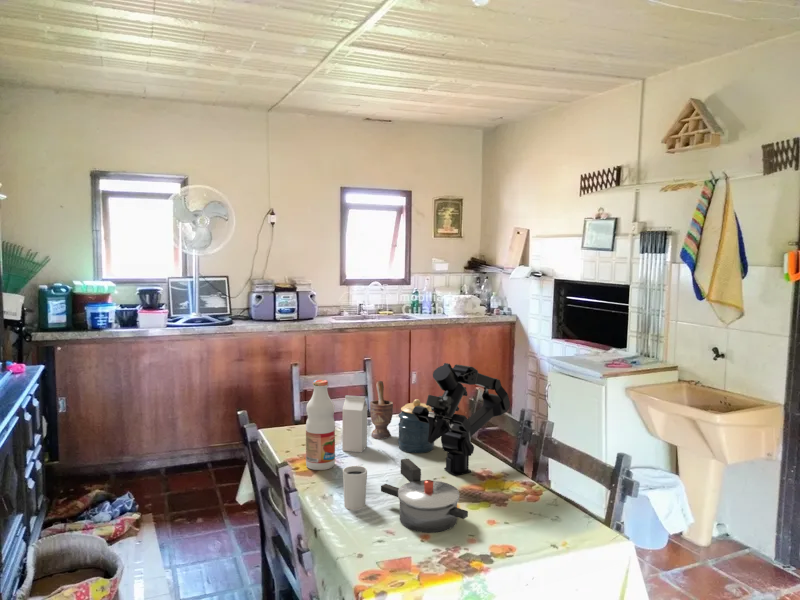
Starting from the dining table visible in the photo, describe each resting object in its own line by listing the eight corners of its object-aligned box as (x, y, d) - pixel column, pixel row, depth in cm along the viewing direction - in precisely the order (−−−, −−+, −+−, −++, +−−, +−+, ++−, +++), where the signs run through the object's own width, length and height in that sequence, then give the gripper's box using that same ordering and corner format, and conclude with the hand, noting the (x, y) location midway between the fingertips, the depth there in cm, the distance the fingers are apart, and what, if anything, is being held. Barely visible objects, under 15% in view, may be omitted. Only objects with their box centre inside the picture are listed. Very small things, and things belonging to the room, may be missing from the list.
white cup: (356, 498, 169) (356, 464, 168) (371, 505, 164) (372, 470, 163) (337, 505, 164) (337, 469, 163) (353, 512, 159) (353, 476, 159)
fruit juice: (309, 460, 199) (309, 377, 197) (337, 461, 199) (337, 378, 196) (302, 470, 190) (302, 383, 188) (332, 471, 189) (332, 384, 187)
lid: (429, 470, 174) (430, 455, 174) (470, 504, 151) (470, 487, 151) (378, 477, 168) (378, 462, 168) (411, 513, 145) (412, 496, 145)
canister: (440, 446, 215) (441, 398, 214) (422, 456, 204) (423, 405, 203) (410, 439, 222) (410, 393, 221) (391, 449, 211) (391, 400, 210)
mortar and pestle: (362, 432, 230) (363, 381, 229) (382, 429, 234) (383, 379, 233) (375, 440, 220) (376, 387, 219) (396, 437, 224) (397, 385, 223)
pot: (399, 494, 172) (400, 474, 171) (480, 522, 155) (481, 499, 154) (365, 512, 160) (365, 490, 159) (448, 543, 143) (448, 519, 143)
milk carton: (361, 452, 207) (362, 399, 206) (342, 451, 208) (342, 397, 207) (367, 446, 214) (367, 394, 212) (348, 444, 215) (348, 393, 214)
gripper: (415, 380, 186) (393, 422, 178) (466, 389, 174) (444, 434, 167) (430, 400, 193) (409, 441, 185) (480, 410, 181) (459, 455, 173)
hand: (429, 442), depth 177 cm, fingers closed
